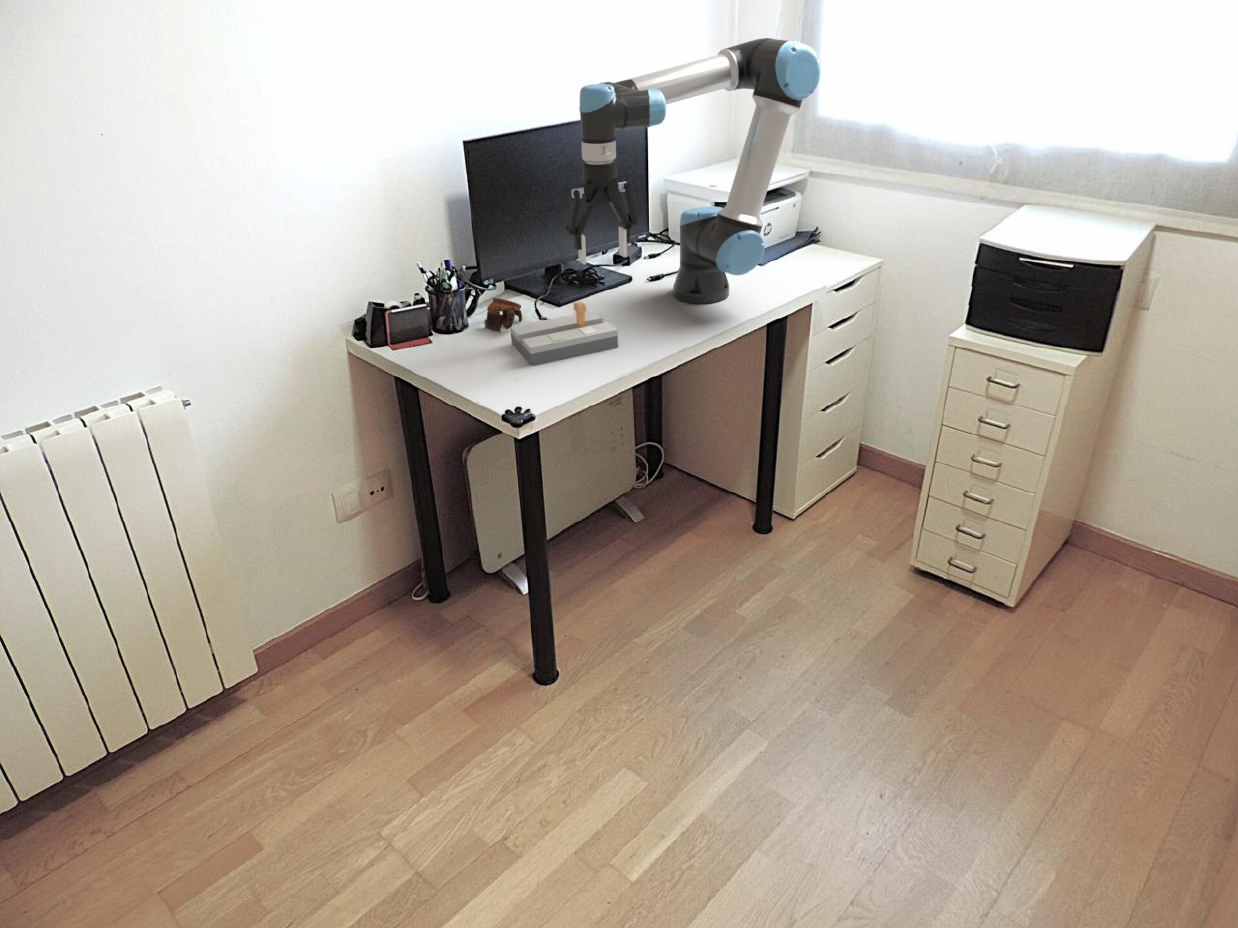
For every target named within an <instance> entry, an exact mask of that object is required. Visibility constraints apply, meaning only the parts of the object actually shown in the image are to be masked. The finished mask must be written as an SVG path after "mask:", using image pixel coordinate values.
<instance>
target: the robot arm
mask: <svg viewBox="0 0 1238 928" xmlns="http://www.w3.org/2000/svg"><path fill="white" fill-rule="evenodd" d="M820 78H821V63H820V61H819V58H818V55H817V53H816V51H815V50H814V49H813V48H812V47H811V46H809V45H807V44H805V43H801V42H799V41H795V40H784V39H775V38H770V37H764V38H757V39H754V40H749V41H745V42H742V43H739V44H737V45H733V46H729V47H725V48H722V49H720V51H719V52H718V53H717V55H714V56H710V57H706V58H702V59H698V60H694V61H691V62H688V63H683V64H680V65H676V66H673V67H669V68H668V67H667V68H665V69H662V70H658V71H655V72H651V73H646V74H642V75H639V76H636V77H630V78H629V79H624V80H620V81H617V82H612V81H602V82H601V81H600V82H599V83H593V84H587V85H584V86H583V87H581V89H580V91H579V108H578V110H579V116H580V117H579V119H580V132H581V135H580V136H581V158H582V160H583V163H582V179H583V185H582V187H579V188H574V187H572V188H571V189H570V190H569V191H570V192H569V193H570V205H569V208H568V209H569V210H568V215H567V218H566V219H567V220H566V225H565V229H564V230H565V232H566V233H567V234H569V235H570V236H573V242H574V244H573V245H574V246H573V247H574V249H576V250H577V252H578V254H577V255H578V262H579V263H580V264H581V265H584V266H585V265H587V251H586V249H587V248H586V247H587V245H586V236H585V235H584V234H583V232H584V230H585V228H586V225H587V223H588V221H589V219H590V216H591V214H592V211H593V210H594V209H595V207H596V206H597V205H602V204H609V206H610V207H611V210H612V211H613V213H614V214H615V216H616V218H617V219H618V221H619V223H620V224H621V226H618V251H619V253H618V255H620V256H621V257H623V258H628V244H627V243H628V242H630V240H631V230H632V228H633V225H634V226H635V225H637V224H638V219H637V215H636V211H635V208H634V204H633V200H632V197H631V193H630V191H631V184H630V183H629V182H628V181H624V180H622V181H620V182H618V181H617V177H618V173H617V170H618V169H617V162H616V160H615V159H616V158H617V144H616V143H617V142H616V141H617V137H616V136H617V135H616V133H617V131H622V130H629V129H640V128H650V127H655V126H658V125H660V124H662V123H663V122H664V121H665V118H666V116H667V105H669V104H673V103H676V102H680V101H683V100H687V99H691V98H693V97H698V96H701V95H705V94H709V93H711V92H713V93H714V92H716V91H719V90H723V89H724V90H725V91H726V92H732V91H736V90H743V89H745V90H753V92H752V99H753V102H754V104H755V108H754V112H753V114H752V115H753V116H752V118H751V122H750V125H749V128H748V132H747V136H746V138H745V141H744V146H743V149H742V151H741V154H740V158H739V162H738V165H737V168H736V172H735V175H734V178H733V180H732V181H733V182H732V184H731V187H730V191H729V195H728V197H727V201H726V205H725V206H724V207H721V206H701V207H700V206H699V207H698V206H697V207H693V208H689V209H686V210H684V211H682V213H681V214H680V220H679V229H680V230H679V268H678V271H677V274H676V277H675V280H674V283H673V288H672V289H673V293H672V295H673V296H674V297H675V298H676V299H677V300H679V301H682V302H685V303H690V304H711V303H718V302H721V301H723V300H726V299H727V298H728V297H729V295H730V284H729V281H728V277H727V274H729V275H732V276H742V275H746V274H748V273H749V272H751V271H752V270H754V269H755V268H756V267H757V266H758V265H759V264H760V262H761V261H762V258H763V256H764V253H765V243H764V239H763V237H762V236H761V232H762V229H763V225H764V223H763V221H762V220H761V218H760V214H761V212H762V209H763V205H764V203H765V202H764V201H765V199H766V195H767V193H768V190H769V186H770V182H771V180H772V176H773V173H774V170H775V168H776V167H775V166H776V163H777V160H778V159H779V158H778V157H779V154H780V152H781V148H782V144H783V142H784V140H785V135H786V132H787V128H788V127H789V122H790V119H791V116H792V115H793V114H795V113H797V112H798V111H800V110H801V109H800V108H801V106H802V102H803V100H805V99H806V98H808V97H810V95H811V94H813V93H814V92H815V90H816V89H817V88H818V87H817V86H818V85H819V83H820ZM617 191H619V192H620V195H621V199H622V203H623V206H624V210H625V213H624V211H623V209H622V207H621V205H620V204H619V201H618V200H617V198H616V196H615V195H616V193H617ZM583 195H584V196H585V199H584V201H583V206H582V209H581V211H580V213H579V209H580V205H581V199H582V198H583ZM625 214H626V215H625ZM578 215H579V216H578Z"/></svg>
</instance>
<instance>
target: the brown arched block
mask: <svg viewBox="0 0 1238 928" xmlns="http://www.w3.org/2000/svg"><path fill="white" fill-rule="evenodd" d="M521 307H522V305H521V304H519V303H517V302H515V301H511V300H508V299H503V298H499V297H494V298H493V299H492V302H490V304H488V306H487V307H486V308H487V309H486V311H487V312H486V319H485V320H484V329H485V330H486V329H487V330H489V331H493V332H497V333H501V332H502V327H503V328H504V329H505V330H508V329H509V330H510V327H513V323H514V320H515V316H516V317H518V318H517V319H518V323H522V322H523V314H522V310H521ZM501 313H502V314H501Z"/></svg>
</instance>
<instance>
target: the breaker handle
mask: <svg viewBox="0 0 1238 928" xmlns="http://www.w3.org/2000/svg"><path fill="white" fill-rule="evenodd" d="M573 310H574V312H575V314H576V321H577V328H581V327H585V315H584V313H586V312H587V304H585V303H584V302H583V301H581V300H580V301H576V302H573Z"/></svg>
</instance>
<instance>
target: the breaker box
mask: <svg viewBox="0 0 1238 928" xmlns="http://www.w3.org/2000/svg"><path fill="white" fill-rule="evenodd" d="M584 315H585V327H581V328H577V321H576V313H574V314H570V315H569V314H568V315H565V316H559V317H555V318H549V319H545V320H540V321H539V320H538V321H534V322H530V323H529V322H528V323H525V324H523V323H522V324H520V325H514V326H513V325H512V327H510V328H509V330H510V331H509V332H510V337H511V338H510V339H511V346H513V347H514V348H515V350H516V351H517V352H518V353H519V354H520V355H521V356H522V357H523V358H524V359H525V360H526V362H528V364H530V365H531V366H532V367H533V366H537V365H542V364H546V363H551V362H552V363H553V362H556V361H561V360H564V359H570V358H575V357H579V356H585V355H589V354H593V353H598V352H602V351H607V350H611V349H616V348H619V334H618V333H619V331H618V329H617V328H616V327H615V326H614V325H613V324H612V323H610V322H608V321H606V322H604V317H602V315H600V314H599V313H597V312H596V311H595V310H589V311H586V313H584Z"/></svg>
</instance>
